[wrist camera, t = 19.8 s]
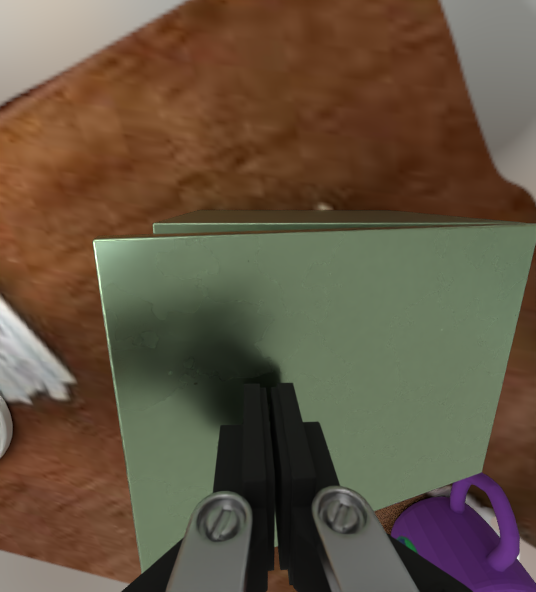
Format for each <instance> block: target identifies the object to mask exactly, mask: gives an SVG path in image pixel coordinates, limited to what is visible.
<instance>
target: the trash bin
mask: <svg viewBox="0 0 536 592" xmlns="http://www.w3.org/2000/svg"><path fill="white" fill-rule="evenodd" d="M498 223H520V222H510V221H500V220H489V219H478V218H467V217H456V216H446V215H435V214H424V213H413V212H403V211H391V210H197V211H194V212H190V213H187V214H183V215H180V216H176V217H173V218H169V219H166V220H162V221H159V222H155V223H153V233H154V234H174V233H206V232H239V231H271V230H304V229H336V228H368V227H401V226H433V225H465V224H498Z"/></svg>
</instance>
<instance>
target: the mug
mask: <svg viewBox="0 0 536 592" xmlns="http://www.w3.org/2000/svg"><path fill="white" fill-rule="evenodd" d="M471 484H473V485H476V486H477V487H479V488H480V489H482V490H483V491H485V492H486V493H487V495H488V497H489V499H490V501H491V503H492V506H493V509H494V511H495V514H496V518H497V522H498V526H499V530H500V537H499V536H498V535H497V534H496V532H495V531H494V530H493V529H492V528H491V527H490V526H489V524H488V523H487V522H486V521H485V520H484V519H483V518H482V517H481V516H480V515H479V514H478V513H477V512H476V511H475V510H473V509H472V508H471V507H470V506H469V505H467V504H466V503H465V499H466V494H467V491H468V489H469V487H470V486H471ZM391 536H392V537H393V538H395V539H396V540H398V541H399V542H401V543H402V544H404V545H405V546H407V547H408V548H410V549H411V550H413V551H414V552H416V553H417V554H419V555H421V556H422V557H424V558H425V559H427V560H428V561H430V562H431V563H433V564H434V565H436V566H437V567H439V568H440V569H442V570H443V571H445V572H446V573H448V574H449V575H451V576H452V577H454V578H455V579H457V580H458V581H460V582H461V583H463V584H464V585H466V586H467V587H468V588H469V589H471V590H472V591H473V592H536V583H535V582H534V580H533V579H532V578H531V576H530V575H529V574H528V572H527V571H526V570H525V568H524V567H523V566H522V564H521V563H520V562H519V561H518V559H517V556H518V555H519V541H520V536H519V532H518V528H517V525H516V521H515V517H514V514H513V511H512V509H511V506H510V504H509V501H508V498H507V497H506V495H505V493H504V492H503V490H502V488H501V487H500V486H499V485H498V484H497V483H496V482H495V481H494V480H492V479H491V478H490V477H488V476H487V475H485V474H483V473H482V472H481V473H479V474H476V475H473V476H471V477H468V478H465V479H462V480H460V481H457V482H454V483H453V484H452V489H451V493H450V497H431V498H428V499H424V500H421V501H419V502H417V503H415V504H413V505H411V506H410V507H408V508H407V509H406V510H404V511H403V512H402V514H401V515H400V516H399V517H398V518H397V520H396V521H395V524H394V526H393V528H392V532H391Z"/></svg>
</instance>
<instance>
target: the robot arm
mask: <svg viewBox="0 0 536 592" xmlns="http://www.w3.org/2000/svg"><path fill="white" fill-rule="evenodd" d="M12 430H13V424H12V419H11V414H10V412H9V409H8V407H7V405H6V402H5V401H4V400H3V398H2V397H1V395H0V458H1V457H2V456H3V455H4V453H5V452H6V450H7V448H8V447H9V445H10V441H11V438H12ZM275 518H276V529H277V540H278V551H279V562H280V570H287V569H288V576H289V585H293V587H294V589H296V590H297V591H298V592H473V591H472V590H471V589H469V588H468V587H467V586H466V585H464V584H463V583H461V582H460V581H458V580H457V579H455V578H454V577H452V576H451V575H449V574H448V573H446V572H445V571H443V570H442V569H440V568H439V567H437V566H436V565H434V564H433V563H431V562H430V561H428V560H427V559H425V558H424V557H422V556H421V555H419V554H417V553H416V552H414V551H413V550H411V549H410V548H408V547H407V546H405V545H404V544H402V543H401V542H399V541H398V540H396V539H395V538H393V537H392V536H390V535H389V534H387V533H386V532H385V531H384V529H383V527H382V525H381V524H380V522H379V520H378V518H377V517H376V515H375V513H374V511H373V510H372V508H371V506H370V505H369V503H368V502H367V501H366V499H365V498H364V497H363V496H362V495H360V494H359V493H358V492H356V491H354V490H352V489H350V488H348V487H343V486H340V483H339V480H338V477H337V474H336V471H335V468H334V465H333V462H332V459H331V456H330V453H329V449H328V446H327V443H326V440H325V437H324V434H323V431H322V428H321V425H320V423H319V422H318V421H317V422H303V421H302V417H301V413H300V409H299V405H298V401H297V397H296V393H295V389H294V385H293V383H277V386H276V387H271V407H270V422H269V412H268V402H267V392H266V388H260V383H258V384H244V407H243V424H236V425H221V426H220V432H219V441H218V450H217V458H216V467H215V476H214V485H213V493H212V494H210V495H208V496H207V497H205V498H203V499H202V500H201V501H200V502H199V503H198V504H197V505H196V506H195V508H194V510H193V512H192V514H191V517H190V520H189V523H188V526H187V529H186V532H185V535H184V537H183V538H182V539H181V540H180V541H179V542H178V543H176V544H175V545H174V546H173V547H172V548H171V549H170V550H168V551H167V552H166V553H165V554H164V555H163V556H162V557H160V558H159V559H158V560H157V561H156V562H155V563H154V564H152V565H151V566H150V567H149V568H148V569H147V570H146V571H144V572H143V573H142V574H141V575H140V576H139V577H138V578H136V579H135V580H134V581H133V582H132V583H131V584H130V585H128V587H126V588H125V589H124V590H123V591H122V592H266V591H267V589H268V571H272V570H274V539H275Z"/></svg>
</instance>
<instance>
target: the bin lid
mask: <svg viewBox="0 0 536 592" xmlns="http://www.w3.org/2000/svg"><path fill="white" fill-rule="evenodd" d="M92 243H93V250H94V256H95V263H96V270H97V277H98V283H99V290H100V297H101V304H102V310H103V317H104V324H105V331H106V337H107V344H108V351H109V357H110V364H111V371H112V378H113V384H114V391H115V398H116V405H117V411H118V418H119V425H120V431H121V438H122V445H123V452H124V458H125V465H126V472H127V479H128V485H129V492H130V499H131V505H132V512H133V519H134V526H135V532H136V539H137V546H138V553H139V559H140V566H141V573H143V572H144V571H146V570H147V569H148V568H149V567H150V566H151V565H152V564H154V563H155V562H156V561H157V560H158V559H159V558H160V557H162V556H163V555H164V554H165V553H166V552H167V551H168V550H170V549H171V548H172V547H173V546H174V545H175V544H176V543H178V542H179V541H180V540H181V539H182V538H183V537H184V535H185V532H186V529H187V526H188V523H189V520H190V517H191V514H192V512H193V510H194V508H195V506H196V505H197V504H198V503H199V502H200V501H201V500H202V499H203V498H205V497H207V496H208V495H210V494H212V493H213V485H214V476H215V467H216V458H217V450H218V441H219V432H220V426H221V425H236V424H243V407H244V384H258V383H260V388H266V392H267V402H268V412H269V422H270V407H271V387H276V386H277V383H293V385H294V389H295V393H296V397H297V401H298V405H299V409H300V413H301V417H302V421H303V422H317V421H318V422H319V423H320V425H321V428H322V431H323V434H324V437H325V440H326V443H327V446H328V449H329V453H330V456H331V459H332V462H333V465H334V468H335V471H336V474H337V477H338V480H339V483H340V486H343V487H348V488H350V489H352V490H354V491H356V492H358V493H359V494H360V495H362V496H363V497H364V498H365V499H366V501H367V502H368V503H369V505H370V506H371V508H372V510H373V511H376V510H379V509H382V508H384V507H387V506H390V505H393V504H396V503H398V502H401V501H404V500H407V499H409V498H412V497H415V496H418V495H421V494H423V493H426V492H429V491H432V490H435V489H437V488H440V487H443V486H446V485H448V484H451V483H454V482H457V481H460V480H462V479H465V478H468V477H471V476H473V475H476V474H479V473H481V472H482V469H483V464H484V460H485V456H486V452H487V447H488V443H489V439H490V435H491V430H492V426H493V422H494V418H495V413H496V409H497V405H498V401H499V396H500V392H501V388H502V384H503V379H504V375H505V371H506V367H507V362H508V358H509V354H510V350H511V346H512V341H513V337H514V333H515V329H516V324H517V320H518V316H519V312H520V307H521V303H522V299H523V295H524V290H525V286H526V282H527V278H528V273H529V269H530V265H531V261H532V256H533V252H534V248H535V244H536V224H532V223H498V224H465V225H433V226H401V227H368V228H336V229H304V230H271V231H239V232H206V233H174V234H142V235H109V236H97V237H96V238H95V239H93V242H92ZM276 546H278V540H277V529H276V518H275V539H274V547H276Z"/></svg>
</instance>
